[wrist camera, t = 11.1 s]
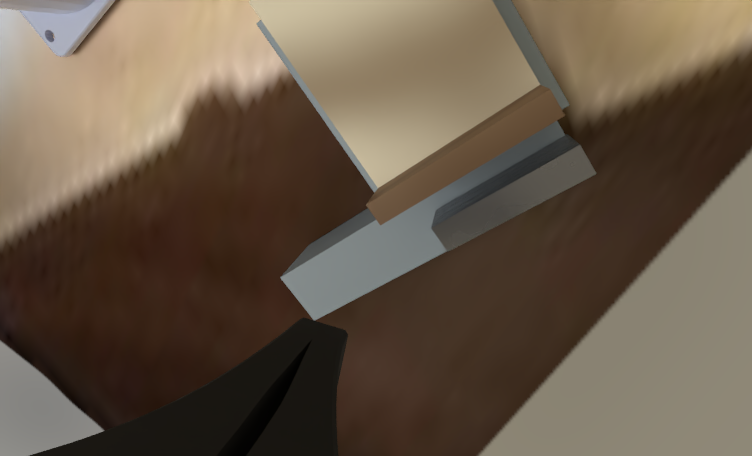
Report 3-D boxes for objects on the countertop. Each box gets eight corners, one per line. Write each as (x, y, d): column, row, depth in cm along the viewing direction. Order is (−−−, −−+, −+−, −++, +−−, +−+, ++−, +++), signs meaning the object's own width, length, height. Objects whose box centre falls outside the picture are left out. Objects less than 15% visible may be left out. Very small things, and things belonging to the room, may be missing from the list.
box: (208, 112, 20) (152, 124, 16) (440, -99, 15) (430, -145, 11) (337, 282, 22) (311, 324, 18) (579, 147, 17) (606, 170, 13)
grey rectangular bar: (435, 209, 15) (430, 228, 14) (567, 134, 13) (580, 144, 12) (450, 231, 16) (447, 251, 14) (582, 159, 14) (596, 173, 12)
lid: (257, 4, 14) (216, -6, 12) (407, -146, 11) (391, -193, 9) (393, 201, 15) (380, 225, 13) (550, 105, 13) (565, 115, 11)
